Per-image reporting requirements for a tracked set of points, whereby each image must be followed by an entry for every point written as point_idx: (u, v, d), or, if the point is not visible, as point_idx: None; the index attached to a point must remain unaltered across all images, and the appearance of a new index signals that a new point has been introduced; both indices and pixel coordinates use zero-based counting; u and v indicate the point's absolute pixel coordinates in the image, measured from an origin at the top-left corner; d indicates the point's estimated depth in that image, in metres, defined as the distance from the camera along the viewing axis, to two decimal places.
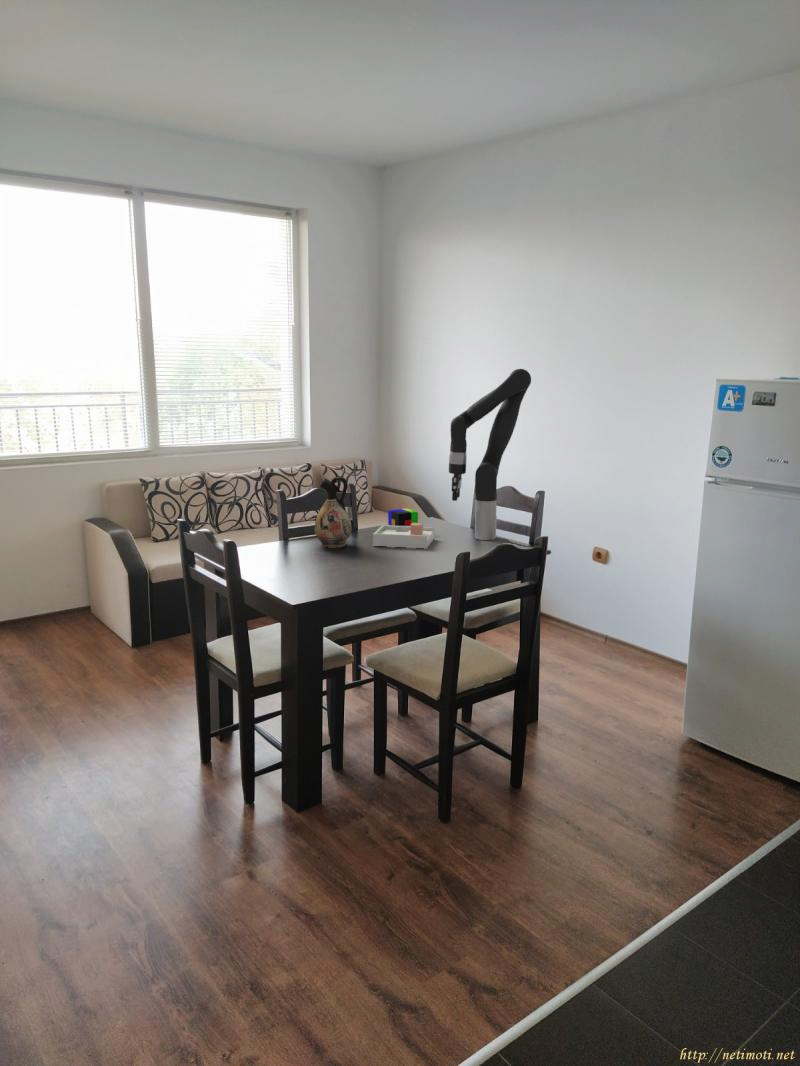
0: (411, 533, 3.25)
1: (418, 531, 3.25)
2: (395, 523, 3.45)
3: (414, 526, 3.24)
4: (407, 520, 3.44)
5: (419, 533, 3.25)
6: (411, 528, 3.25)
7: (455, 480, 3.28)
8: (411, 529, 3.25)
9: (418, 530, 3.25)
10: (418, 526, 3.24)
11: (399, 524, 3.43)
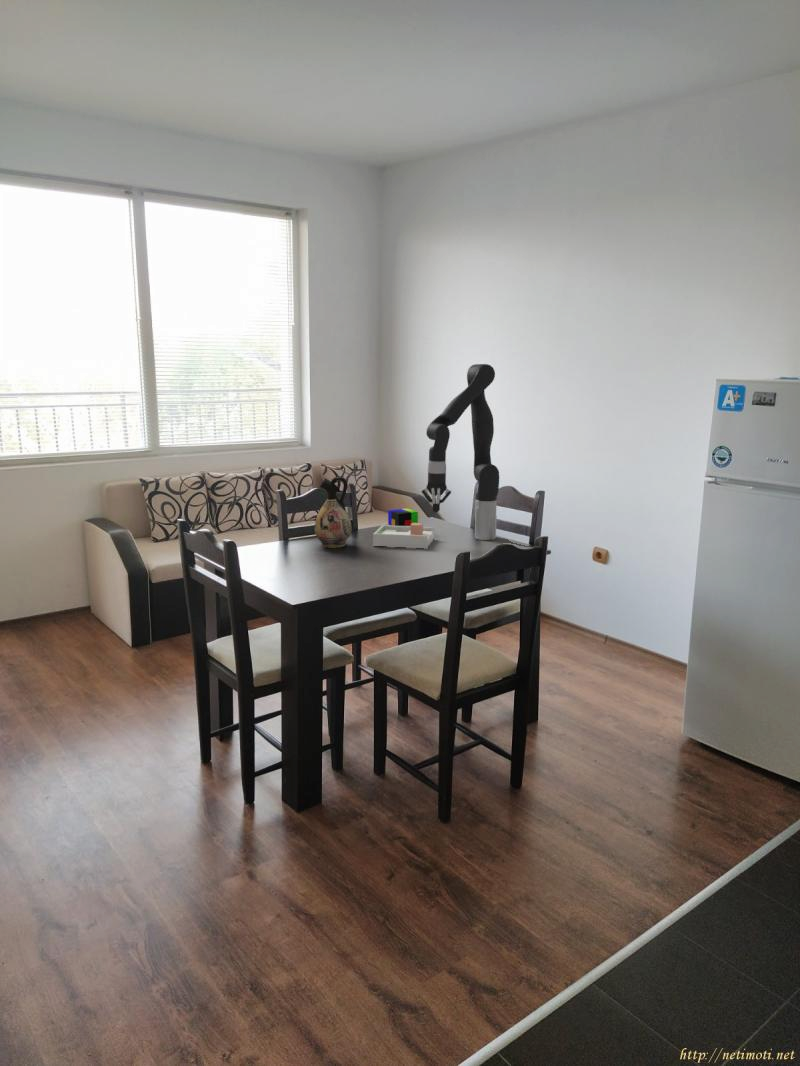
0: (411, 533, 3.25)
1: (418, 531, 3.25)
2: (395, 523, 3.45)
3: (414, 526, 3.24)
4: (407, 520, 3.44)
5: (419, 533, 3.25)
6: (411, 528, 3.25)
7: (449, 494, 3.21)
8: (411, 529, 3.25)
9: (418, 530, 3.25)
10: (418, 526, 3.24)
11: (399, 524, 3.43)
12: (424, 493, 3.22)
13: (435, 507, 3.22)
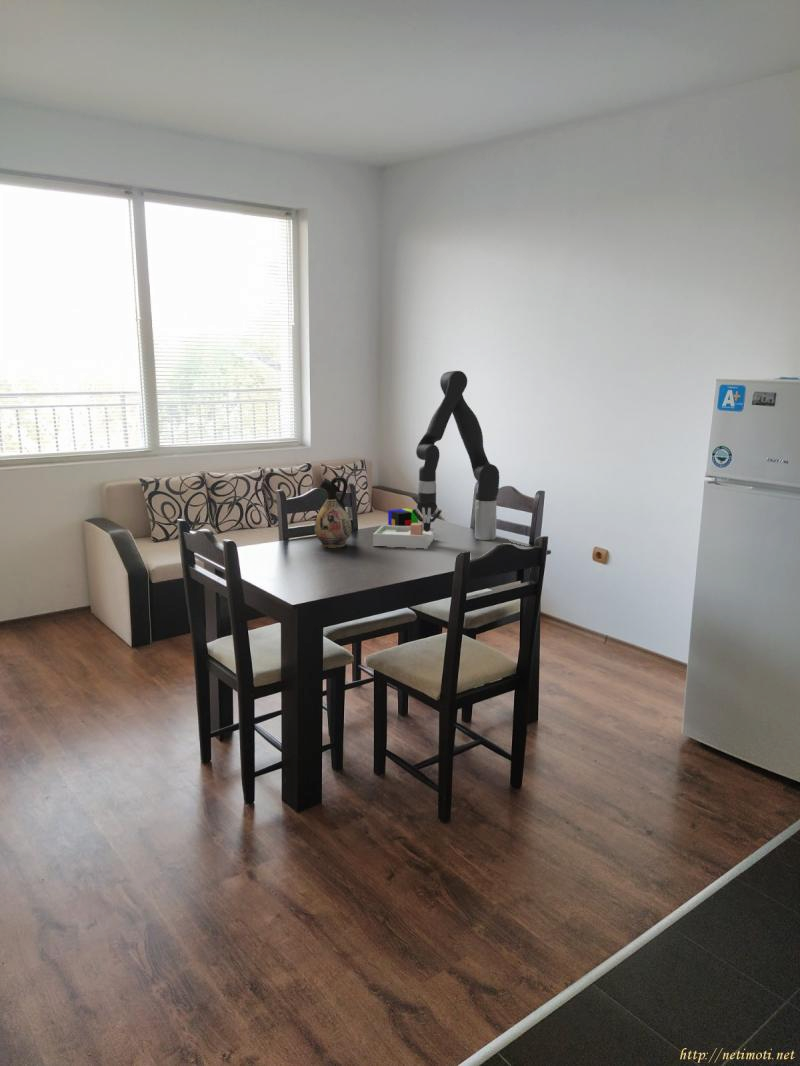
0: (411, 533, 3.25)
1: (418, 531, 3.25)
2: (395, 523, 3.45)
3: (414, 526, 3.24)
4: (407, 520, 3.44)
5: (419, 533, 3.25)
6: (411, 528, 3.25)
7: None
8: (411, 529, 3.25)
9: (418, 530, 3.25)
10: (418, 526, 3.24)
11: (399, 524, 3.43)
12: (415, 512, 3.24)
13: (426, 526, 3.24)
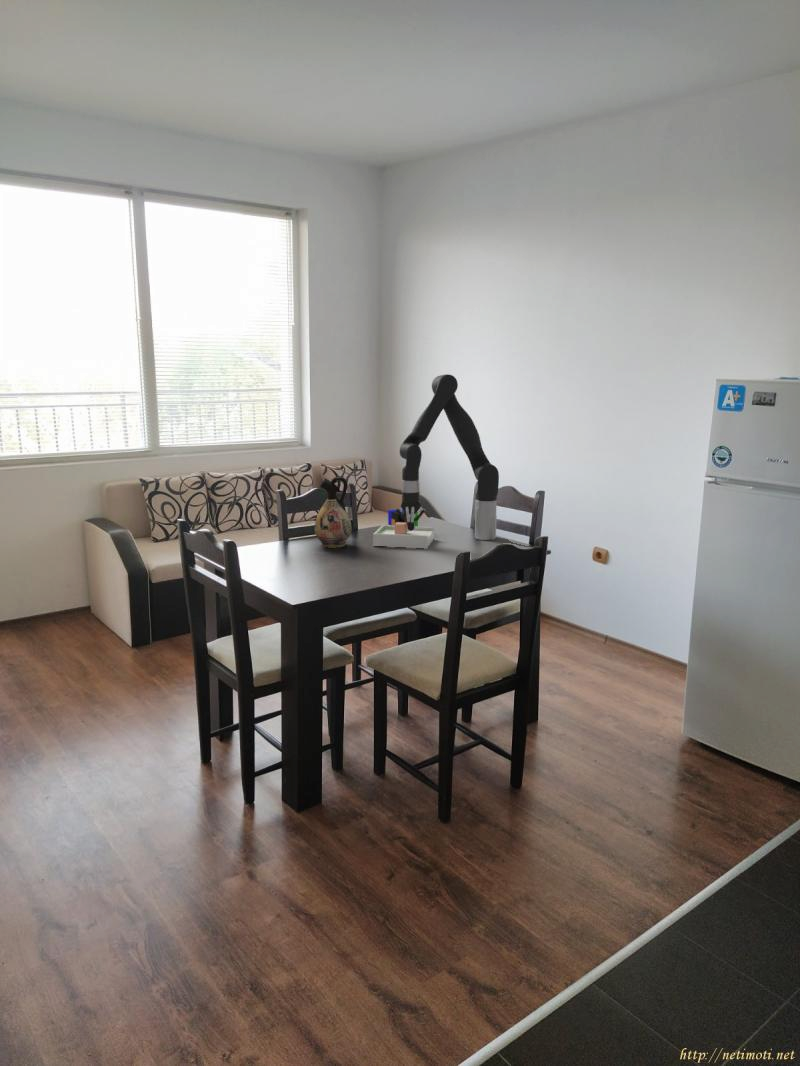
0: (395, 532, 3.27)
1: (402, 530, 3.26)
2: None
3: (398, 525, 3.26)
4: None
5: (403, 532, 3.26)
6: (395, 527, 3.26)
7: None
8: (395, 528, 3.26)
9: (402, 529, 3.26)
10: (402, 525, 3.26)
11: None
12: (398, 512, 3.25)
13: (410, 525, 3.26)
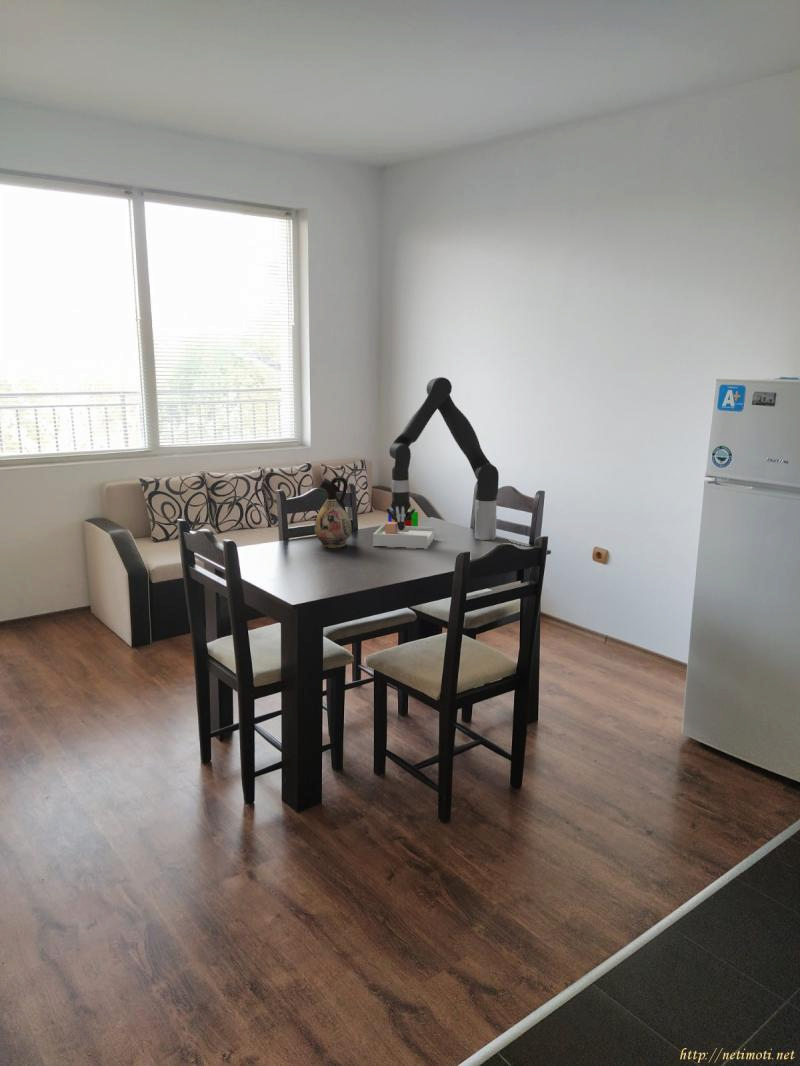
0: (386, 532, 3.28)
1: (392, 530, 3.27)
2: None
3: (388, 525, 3.27)
4: (407, 520, 3.44)
5: (393, 532, 3.27)
6: (386, 527, 3.27)
7: None
8: (386, 528, 3.27)
9: (392, 529, 3.27)
10: (392, 525, 3.26)
11: None
12: (389, 512, 3.26)
13: (400, 525, 3.27)
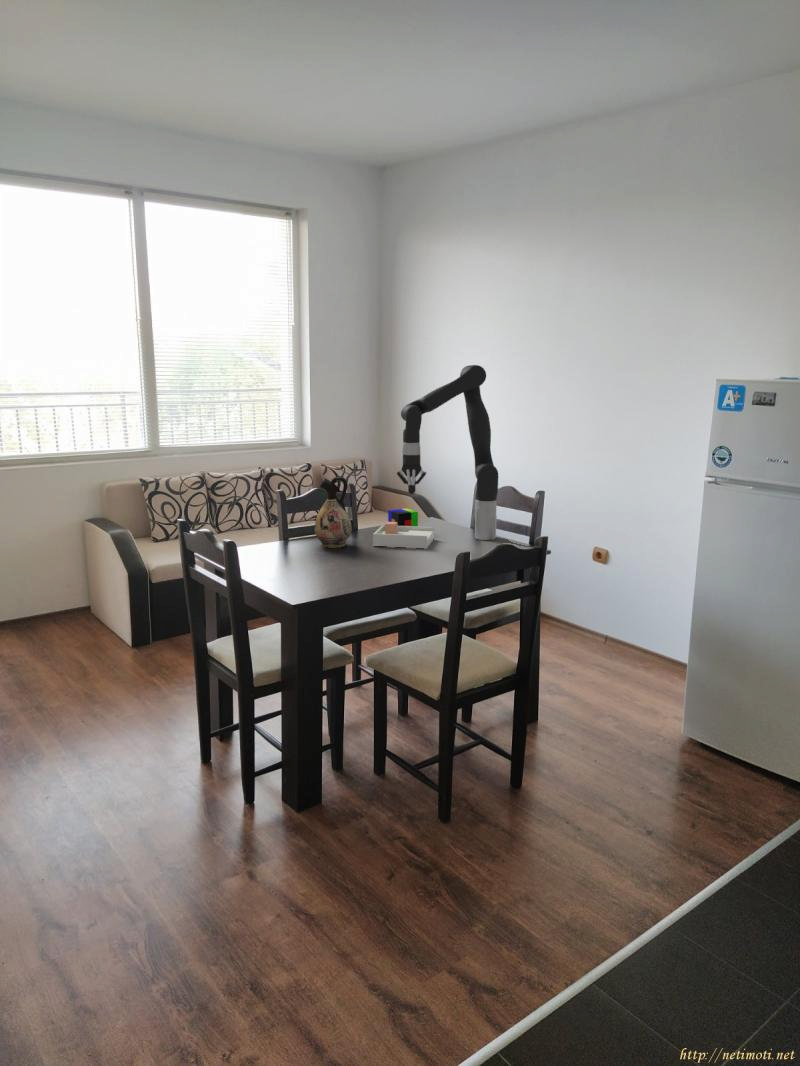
0: (386, 532, 3.28)
1: (392, 530, 3.27)
2: None
3: (388, 525, 3.27)
4: (407, 520, 3.44)
5: (393, 532, 3.27)
6: (386, 527, 3.27)
7: None
8: (386, 528, 3.27)
9: (392, 529, 3.27)
10: (392, 525, 3.26)
11: (399, 524, 3.43)
12: (399, 475, 3.23)
13: (410, 488, 3.24)
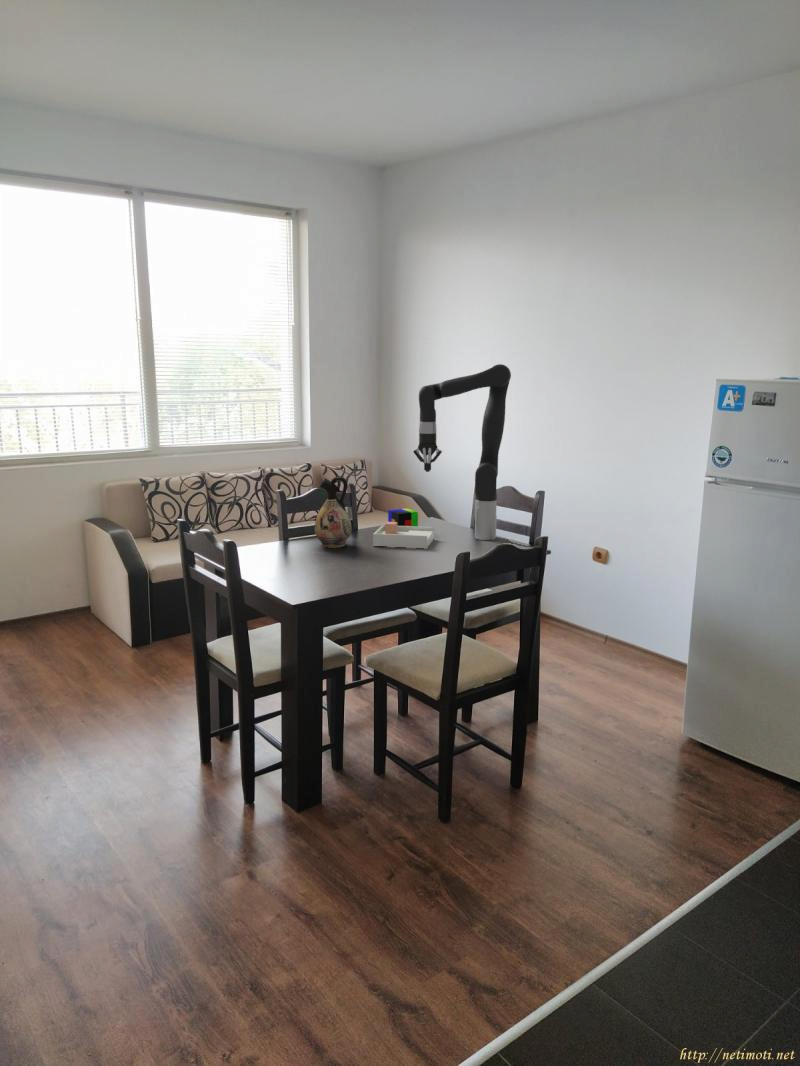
0: (386, 532, 3.28)
1: (392, 530, 3.27)
2: None
3: (388, 525, 3.27)
4: (407, 520, 3.44)
5: (393, 532, 3.27)
6: (386, 527, 3.27)
7: (440, 453, 3.34)
8: (386, 528, 3.27)
9: (392, 529, 3.27)
10: (392, 525, 3.26)
11: (399, 524, 3.43)
12: (416, 453, 3.35)
13: (426, 466, 3.35)
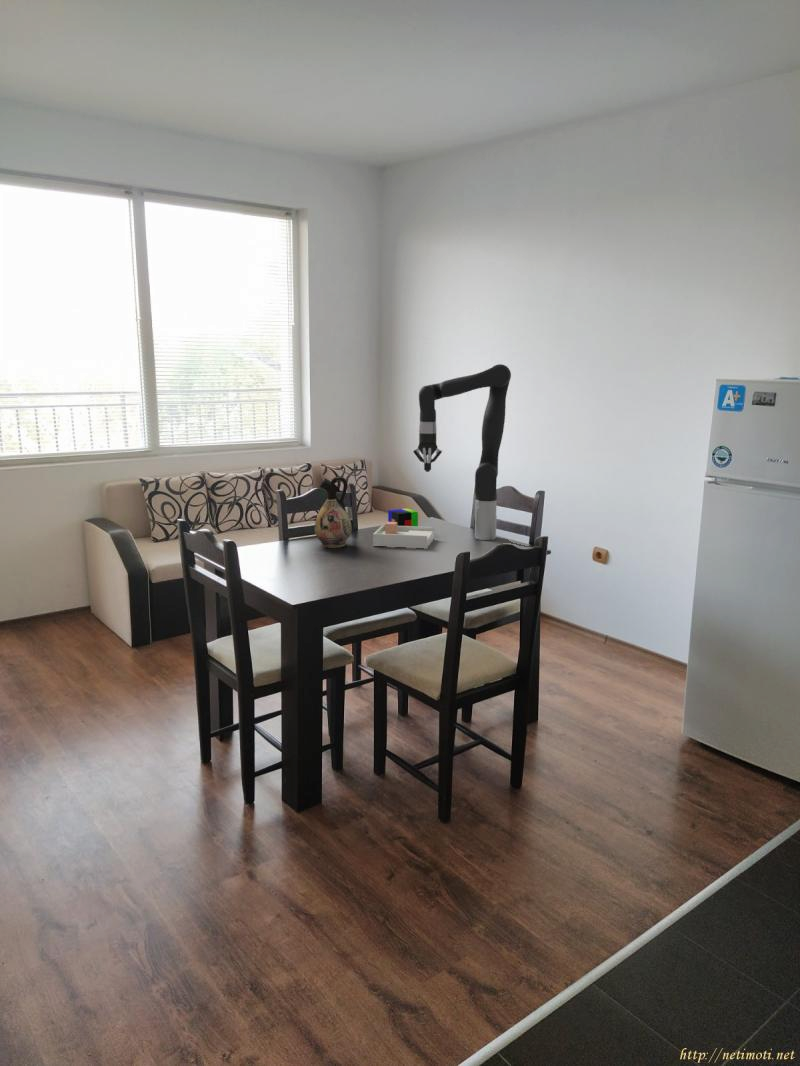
0: (386, 532, 3.28)
1: (392, 530, 3.27)
2: None
3: (388, 525, 3.27)
4: (407, 520, 3.44)
5: (393, 532, 3.27)
6: (386, 527, 3.27)
7: (440, 453, 3.34)
8: (386, 528, 3.27)
9: (392, 529, 3.27)
10: (392, 525, 3.26)
11: (399, 524, 3.43)
12: (416, 453, 3.35)
13: (426, 466, 3.35)
